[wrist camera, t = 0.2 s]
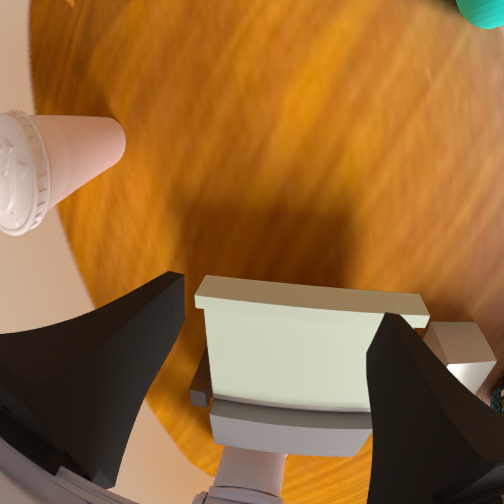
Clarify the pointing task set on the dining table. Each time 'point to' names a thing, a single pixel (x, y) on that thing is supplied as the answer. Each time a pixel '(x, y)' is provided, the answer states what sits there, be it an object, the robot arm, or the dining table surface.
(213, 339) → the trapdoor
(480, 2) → the teal yo-yo
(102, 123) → the smoothie
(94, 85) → the dining table surface
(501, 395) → the container
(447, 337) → the grey cube
